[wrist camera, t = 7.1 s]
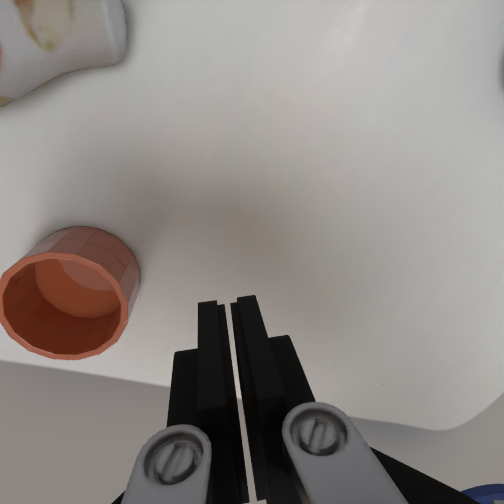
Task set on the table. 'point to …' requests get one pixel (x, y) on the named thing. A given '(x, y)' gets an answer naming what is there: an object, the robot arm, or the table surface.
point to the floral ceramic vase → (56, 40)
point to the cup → (70, 294)
